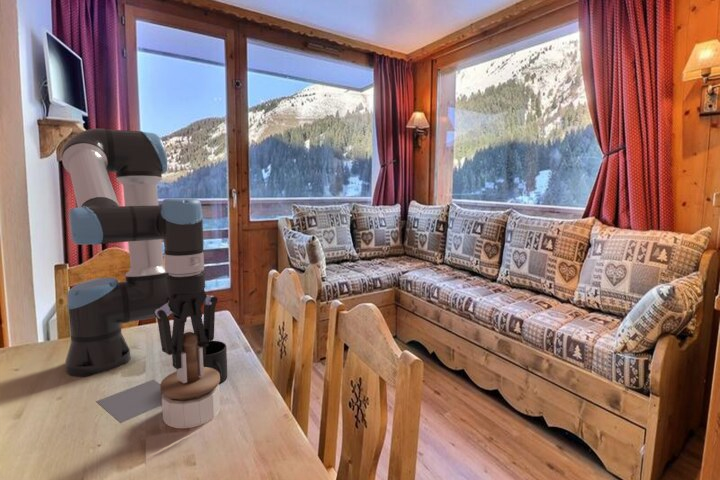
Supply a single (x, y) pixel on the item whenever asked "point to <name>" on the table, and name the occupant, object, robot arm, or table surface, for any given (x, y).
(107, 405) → the mat
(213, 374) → the lid
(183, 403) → the bowl
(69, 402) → the table surface
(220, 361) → the mug
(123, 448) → the table surface
